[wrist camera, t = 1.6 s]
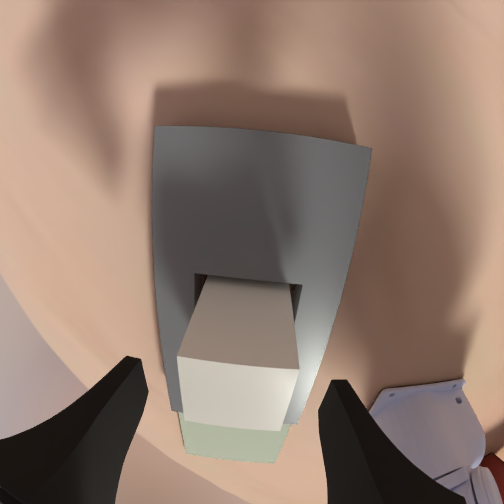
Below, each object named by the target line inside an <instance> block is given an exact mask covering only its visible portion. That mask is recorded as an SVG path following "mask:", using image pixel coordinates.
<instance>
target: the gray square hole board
mask: <svg viewBox="0 0 504 504" xmlns="http://www.w3.org/2000/svg"><path fill="white" fill-rule="evenodd" d="M371 152H372V148H368V147H364V146H359V145H354V144H349V143H344V142H339V141H333V140H328V139H322V138H316V137H309V136H303V135H296V134H288V133H280V132H271V131H262V130H251V129H239V128H224V127H203V126H155V129H154V146H153V170H152V235H153V260H154V277H155V291H156V303H157V313H158V323H159V332H160V340H161V348H162V356H163V363H164V369H165V376H166V382H167V388H168V394H169V399H170V405H171V410H172V411H176V412H181V413H183V405H182V398H181V390H180V382H179V373H178V363H177V354H178V351H179V349H180V346H181V343H182V341H183V338H184V335H185V333H186V330H187V328H188V325H189V322H190V320H191V317H192V315H193V312H194V309H195V307H196V304H197V302H198V299H199V297H200V294H201V292H202V274H206V275H215V276H223V277H232V278H241V279H251V280H260V281H270V282H280V283H290V284H295V288H294V293H293V298H292V309H293V317H294V325H295V333H296V341H297V349H298V358H299V366H300V371H299V374H298V377H297V381H296V384H295V387H294V390H293V394H292V397H291V400H290V403H289V406H288V409H287V412H286V415H285V418H284V421H283V424H298V421H299V419H300V417H301V414H302V412H303V409H304V407H305V404H306V402H307V399H308V396H309V394H310V391H311V389H312V386H313V383H314V380H315V378H316V375H317V372H318V369H319V366H320V364H321V361H322V358H323V355H324V352H325V349H326V346H327V343H328V340H329V336H330V333H331V330H332V327H333V324H334V320H335V317H336V313H337V310H338V307H339V303H340V300H341V296H342V292H343V289H344V285H345V281H346V277H347V273H348V269H349V265H350V261H351V257H352V253H353V249H354V244H355V240H356V236H357V231H358V226H359V221H360V216H361V211H362V206H363V201H364V196H365V190H366V184H367V178H368V172H369V166H370V159H371Z"/></svg>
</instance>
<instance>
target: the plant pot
mask: <svg viewBox="0 0 504 504" xmlns="http://www.w3.org/2000/svg"><path fill="white" fill-rule="evenodd" d="M479 466H481V467H487V468H488V469H489V470H490V472H491V474H492V475H493V477H494V480H495V482H496V484H497V487H498V489H499V492H500V495H501V499H502V502H503V504H504V462H503V461H502V460H501V459H500V458H499V457H497V456H496V455H495V454H494V453H491V454H489V455H488V456H486V457H485V458H483V459H482V461H481V463H480V464H479Z"/></svg>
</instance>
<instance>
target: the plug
mask: <svg viewBox="0 0 504 504" xmlns="http://www.w3.org/2000/svg"><path fill="white" fill-rule="evenodd" d="M177 363H178V373H179V382H180V390H181V398H182V405H183V413H184V419H185V421H190V422H196V423H202V424H209V425H216V426H224V427H232V428H242V429H253V430H267V431H280V430H281V427H282V424H283V421H284V418H285V415H286V412H287V409H288V406H289V403H290V400H291V397H292V394H293V390H294V387H295V384H296V381H297V377H298V374H299V371H300V366H299V358H298V349H297V341H296V333H295V325H294V317H293V309H292V302H291V294H290V287H289V283H280V282H270V281H260V280H251V279H241V278H232V277H223V276H215V275H208V277H207V279H206V282H205V284H204V287H203V289H202V292H201V294H200V297H199V299H198V302H197V304H196V307H195V309H194V312H193V315H192V317H191V320H190V322H189V325H188V328H187V330H186V333H185V335H184V338H183V341H182V343H181V346H180V349H179V351H178V354H177Z"/></svg>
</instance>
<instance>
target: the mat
mask: <svg viewBox="0 0 504 504" xmlns="http://www.w3.org/2000/svg"><path fill="white" fill-rule="evenodd" d="M178 413H179V419H180V424H181V430H182V435H183V440H184V446H185V450H186V454H191V455H196V456H202V457H209V458H216V459H224V460H233V461H243V462H257V463H275V461H276V459H277V457H278V454H279V452H280V450H281V447H282V445H283V442H284V440H285V438H286V435H287V433H288V430H289V427H290V425H291V424H282V427H281V430H280V431H267V430H253V429H242V428H232V427H224V426H216V425H209V424H202V423H196V422H190V421H185V419H184V413H181V412H178Z"/></svg>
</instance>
